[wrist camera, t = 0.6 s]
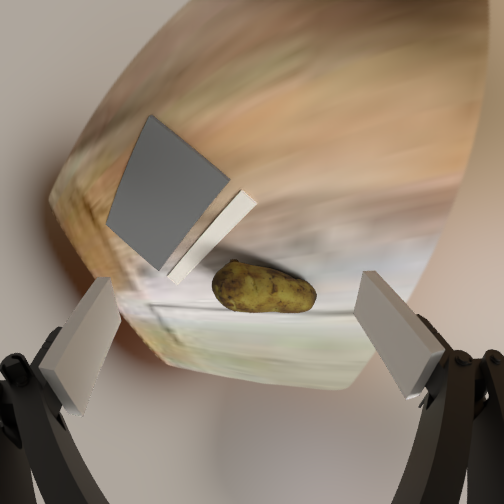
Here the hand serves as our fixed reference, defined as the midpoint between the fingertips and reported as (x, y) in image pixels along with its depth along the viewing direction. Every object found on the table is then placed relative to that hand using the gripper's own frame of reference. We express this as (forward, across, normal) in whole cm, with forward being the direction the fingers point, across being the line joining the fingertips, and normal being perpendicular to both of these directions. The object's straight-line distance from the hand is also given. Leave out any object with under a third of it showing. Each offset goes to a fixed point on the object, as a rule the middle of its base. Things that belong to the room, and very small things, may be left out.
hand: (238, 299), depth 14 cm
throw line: (+26, -4, -8) cm, 28 cm away
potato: (+23, +6, -10) cm, 26 cm away
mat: (+28, -11, -2) cm, 30 cm away
